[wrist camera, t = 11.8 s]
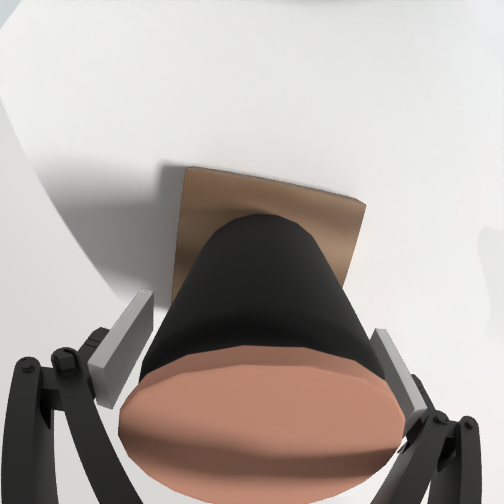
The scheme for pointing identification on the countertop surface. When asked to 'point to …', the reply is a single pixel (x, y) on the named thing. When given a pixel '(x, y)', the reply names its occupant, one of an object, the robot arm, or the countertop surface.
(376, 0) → the countertop surface
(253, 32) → the countertop surface
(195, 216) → the walnut riser
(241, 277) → the coffee jar
